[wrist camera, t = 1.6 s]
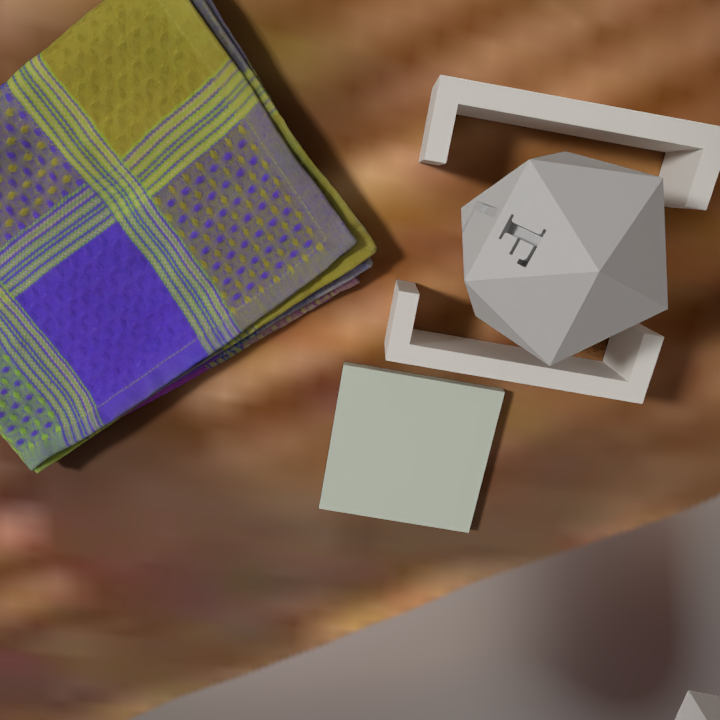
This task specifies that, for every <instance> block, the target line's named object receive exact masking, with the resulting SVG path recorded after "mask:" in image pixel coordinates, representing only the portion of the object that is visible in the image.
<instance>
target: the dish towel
mask: <svg viewBox="0 0 720 720" xmlns="http://www.w3.org/2000/svg"><path fill="white" fill-rule="evenodd" d="M376 251H377V246H376V244H375V242H374V240H373V239H372V237H371V236H370V235H369V233H368V232H367V230H366V229H365V228H364V226H363V225H362V224H361V223H360V221H359V220H358V219H357V217H356V216H355V215H354V214H353V212H352V211H351V209H350V208H349V206H348V205H347V204H346V202H345V201H344V200H343V198H342V197H341V196H340V194H339V193H338V192H337V190H336V189H335V188H334V187H333V186H332V185H331V183H330V182H329V181H328V180H327V178H326V177H325V176H324V175H323V174H322V173H321V172H320V170H319V169H318V168H317V167H316V166H315V164H314V163H313V162H312V160H311V159H310V158H309V156H308V155H307V154H306V152H305V151H304V150H303V148H302V147H301V145H300V144H299V142H298V141H297V140H296V138H295V137H294V135H293V134H292V132H291V131H290V129H289V128H288V126H287V125H286V123H285V121H284V119H283V118H282V116H281V115H280V114H279V112H278V110H277V109H276V107H275V105H274V103H273V101H272V99H271V97H270V95H269V94H268V92H267V90H266V89H265V87H264V85H263V84H262V82H261V80H260V78H259V77H258V75H257V73H256V72H255V70H254V68H253V67H252V65H251V63H250V61H249V60H248V58H247V56H246V55H245V53H244V52H243V50H242V48H241V47H240V45H239V44H238V42H237V41H236V39H235V38H234V36H233V34H232V33H231V31H230V29H229V28H228V26H227V25H226V24H225V22H224V21H223V19H222V17H221V15H220V13H219V11H218V10H217V8H216V6H215V4H214V3H213V1H212V0H103V1H102V2H101V3H100V4H99V5H97V6H96V7H95V8H94V9H92V10H91V11H89V12H87V13H86V15H85V16H84V17H82V18H81V19H80V20H79V21H78V22H76V23H75V24H73V25H72V26H71V27H70V28H69V29H68V30H67V31H66V32H65V33H64V34H63V35H61V36H60V37H59V38H58V39H57V40H55V41H54V42H53V43H52V44H51V45H50V46H49V47H48V48H46V49H45V50H43V51H42V52H41V53H40V54H39V55H37V56H35V57H34V58H32V59H31V60H29V61H28V62H27V63H26V64H24V65H23V66H22V67H21V68H20V69H19V70H18V71H17V72H16V73H15V74H14V75H13V76H12V77H11V78H10V79H9V80H8V81H7V82H6V83H4V84H2V85H1V86H0V434H1V436H2V437H3V438H4V439H5V440H6V441H7V442H8V444H9V445H10V446H11V448H12V449H13V450H14V451H15V452H16V453H17V454H18V456H19V457H20V458H21V459H22V461H23V462H24V463H25V464H26V465H27V466H28V468H29V469H30V470H32V471H35V472H36V473H39V472H41V471H42V470H43V469H45V468H46V467H48V466H49V465H51V464H53V463H54V462H56V461H58V460H60V459H61V458H62V457H64V456H65V455H67V454H68V453H70V452H71V451H73V450H74V449H75V448H77V447H78V446H80V445H81V444H83V443H84V442H86V441H87V440H89V439H90V438H92V437H93V436H94V435H96V434H97V433H99V432H100V431H102V430H104V429H105V428H107V427H108V426H110V425H111V424H113V423H115V422H116V421H117V420H119V419H120V418H121V417H123V416H125V415H127V414H129V413H130V412H132V411H134V410H136V409H138V408H140V407H142V406H144V405H146V404H147V403H149V402H151V401H153V400H155V399H157V398H159V397H161V396H162V395H165V394H167V393H168V392H170V391H172V390H174V389H175V388H178V387H179V386H181V385H183V384H185V383H186V382H188V381H189V380H192V379H194V378H195V377H196V376H199V375H200V374H202V373H203V372H205V371H207V370H209V369H211V368H213V367H215V366H217V365H219V364H221V363H223V362H224V361H226V360H228V359H230V358H231V357H232V356H234V355H236V354H237V353H239V352H241V351H242V350H244V349H245V348H247V347H248V346H250V345H252V344H254V343H255V342H257V341H258V340H260V339H262V338H263V337H265V336H267V335H269V334H270V333H272V332H273V331H276V330H278V329H280V328H282V327H284V326H286V325H287V324H288V323H290V322H292V321H294V320H296V319H297V318H299V317H300V316H302V315H304V314H305V313H307V312H309V311H311V310H313V309H315V308H316V307H317V306H319V305H320V304H322V303H325V302H327V301H328V300H330V299H331V298H332V297H333V296H335V295H336V294H338V293H339V292H341V291H344V290H347V289H349V288H351V287H353V286H355V285H357V284H358V283H359V278H358V275H359V274H361V273H362V272H364V271H365V270H367V269H369V268H371V267H372V265H373V261H372V259H371V257H370V256H372V255H373V254H375V253H376Z"/></svg>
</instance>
